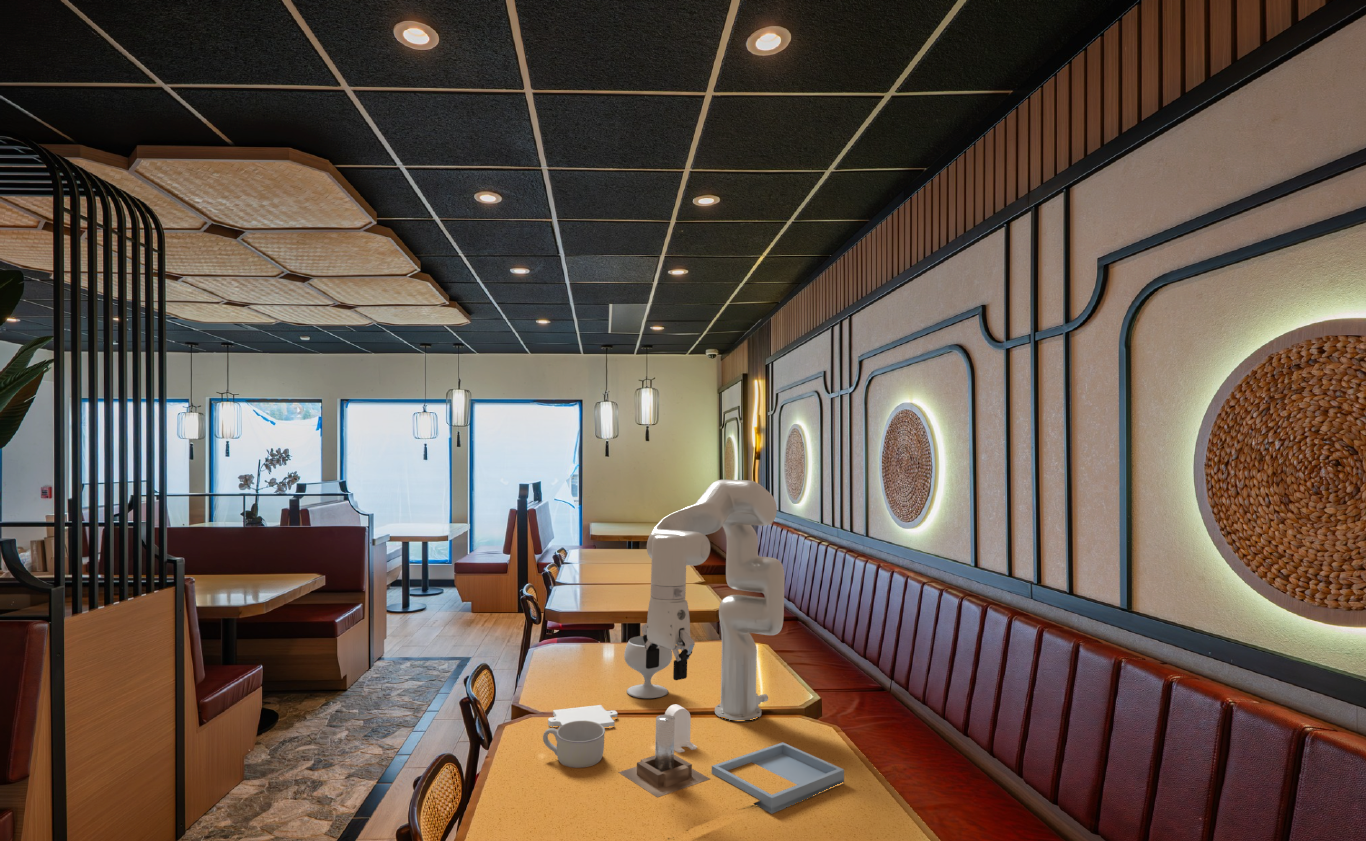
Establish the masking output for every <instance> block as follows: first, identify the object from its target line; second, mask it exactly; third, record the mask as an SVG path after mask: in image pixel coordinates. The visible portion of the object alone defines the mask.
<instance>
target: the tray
mask: <svg viewBox="0 0 1366 841" xmlns="http://www.w3.org/2000/svg"><path fill="white" fill-rule="evenodd" d="M750 763H753V764H754V765H757V766H759V767H761V768H762V769H764V770H766V771H768V772H770V773H773V774H775V775H777V776H778V777H780V778H783V779H785V780H787V781H789V782H791V783H793V784H795V785H794V786H791V787H788V788H785V789H783V790H780V791H778V792H775V793H772V794H771V793H770V792H767V791H765V790H764V789H762V788H760V787H758V786H756V785H754V784H752V783H751V782H748V781H746V780H744V779H742V778H741V777H740V776H737V775H736V774H733V773H732V772H730V771H731V770H732V769H733V770H734V769H735V768H739V767H742V766H745V765H748V764H750ZM711 774H712V775H714V776H715V777H718V778H719V779H721V780H723V781H725V782H727V783H728V784H730V785H731V786H733V787H736V788H738V789H740V790H741V791H743V792H745V793H746V794H748V795H751V797H754V798H756V799H758V801H756V802H754V803H752V804H753V805H755V806H757V807H759V808H761V809H762V810H764V811H766V813H767V812H768V813H769V814H771V815H773V814H775V813H777V812H780V811H782V810H784V809H787V808H789V807H791V806H790V805H792V806H794V805H796V804H795V803H797V802H799V803H801V802H803V801H802V800H804V799H806V800H808V799H807V798H809V797H811V798H813V797H814V796H813V795H815V794H818V793H819V792H822V791H824V790H826V789H829V788H830V787H833V786H835V785H837V784H840V783H842V782H844V783H845V769H844V768H841V767H840V766H837V765H835V764H833V763H830V762H829V761H826V760H824V759H821V758H819V757H817V756H814V755H812V754H810V753H808V752H806V751H804V750H801V749H799V748H797V747H795V746H792V745H789V744H787V743H785V742H783V741H782V742H780V743H776V744H774V745H771V746H768V747H764V748H761V749H759V750H756V751H752V752H749V753H746V754H743V755H741V756H737V757H735V758H732V759H728V760H726V761H722V762H719V763H716V764H714V765H711ZM818 795H819V794H818ZM812 796H813V797H812ZM809 799H810V798H809ZM804 801H805V800H804ZM797 804H798V803H797ZM786 807H787V808H786Z"/></svg>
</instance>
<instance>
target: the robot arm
mask: <svg viewBox="0 0 1366 841" xmlns="http://www.w3.org/2000/svg"><path fill="white" fill-rule="evenodd" d="M777 508H778V507H777V502H776V500H775V497H774V496H773V495H772V493H770V492H769V491H768V490H767V489H766V488H765V487H764V486H762V485H761V484H760V483H758V482H756V481H754V480H747V479H745V480H744V479H718V480H715V481H714V482H712V483H710V485H709V486H708V487H707V488H706V490H705V491H704V492H703V493H702V495H701V496H700V497H699V498H698V500H697V501H696V502H695V503H694V504H692V505H688V506H686V507H684V508H682V509H679V510H677V511H673V512H672V513H670V514H668V515H665V517H663V518H662V519H661V520H660V521H659V522H658V523H657V524H656V525H655V526H654V527H653V529H652V530H651V532H650V534H649V536H648V539H647V542H646V552H647V555H648V557H649V558H650V559H651V570H650V572H651V574H650V597H649V603H648V608H647V609H648V611H647V618H646V619H647V620H646V623H645V624H643V625H641V634H642V636H643V640H644V642H645V649H646V668H647V669H651V668H656V667H659V648H657V647H658V645H659V646H661V647H664V648H667V649H670V650H672V654H673V656H674V658H675V660H673V671H672V674H673V675H672V676H673V678H672V679H673V680H674V681H679V680H683V679H687V677H688V660H690V656H691V655H692V654H693V649H694V648H695V641H694V639H693V638H692V636H691V625H690V624H691V620H690V619H691V618H690V610H689V605H688V604H689V603H688V600H686V590H687V589H686V588H687V587H686V585H687V582H686V581H687V566H699V565H702V564H704V562H706V560H707V559H708V558H709V556H710V553H711V542H710V540H709V538H708V535H710V534H713V533H716V532H718V531H719V530H720V529H721V528H723V531H724V534H725V538H726V553H725V554H726V555H725V556H726V560H725V580H726V583H727V586H728V587H729V588H731V589H733V590H737V591H745V592H752V593H753V592H754V593H762V594H763V595H764V597H760V596H753V595H744V594H743V595H742V594H731V595H727V596H725V597H724V598H722V599H721V600H720V603H719V606H718V617H719V624H720V632H721V633H720V634H721V664H720V665H721V668H720V669H721V670H720V672H721V673H720V703H719V704H717V705H716V706H715V707H714V713H715V715H716V716H717V717H719V718H720V717H725V718H727V719H729V720H728V721H730V720H750V719H753V718H756V717H759V718H761V717H762V709H761V707H760V706H759V705H760V704H762V703H765V702H768V701H769V696H768V694H766V693H764V694H760V695H758V693H757V657H758V656H757V655H758V651H757V650H758V649H757V646H756V645H757V644H756V643H755V640H754V638H753V636H752V634H757V635H763V636H764V635H765V636H775V635H778V634H779V633H780V632H781V631H782V628H783V624H784V617H785V616H784V615H785V611H784V610H785V609H784V608H785V583H786V582H785V580H786V579H785V571H784V570H785V569H784V566H783V564H782V562H781V561H780V560H779V559H777V558H775V557H769V556H760V555H759V552H758V551H759V550H758V549H759V548H758V546H759V543H758V541H759V538H758V535H757V532H756V530H755V529H754V527H753V526H761V527H765V526H770V525H772V523H773V522H774V521H775V520H776V517H777V512H778V511H777ZM706 535H707V536H706ZM679 650H681V651H679Z"/></svg>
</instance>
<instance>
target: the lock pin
mask: <svg viewBox="0 0 1366 841" xmlns="http://www.w3.org/2000/svg"><path fill="white" fill-rule="evenodd" d="M655 717H656V718H655V744H654V745H655V747H654V749H655V750H654V756H655V769H657V770H659V771H660V772H664V771H667V770H670V769H673V768H674V755H675V750H674V731H675V717H673V716H671V715H665V714H660V715H657V716H655Z"/></svg>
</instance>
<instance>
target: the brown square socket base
mask: <svg viewBox="0 0 1366 841" xmlns="http://www.w3.org/2000/svg"><path fill="white" fill-rule="evenodd" d="M618 774H620V775H621V776H623V777H625V778H626V779H628V780H629V781H631V782H632V783H634V784H636V786H639V787H640V788H642V789H643V790H645V791H646V792H647V793H650V794H651V795H652V796H654V797H656V798H660V797H663V796H666V795H669V794H671V793H675V792H677V791H680V790H683V789H685V788H689V787H691V786H695V785H698V784H701V783H703V782H706V781H709V780H711V778H710V777H708V776H706V775H705V774H702V773H701V772H699V771H697V770H696V769H693V764H692V763H690V762H688V761H686V760H684V759H683V758H681V757H680V756H677V755H676V754H674V768H673V769H670V770H667V771H664V772H660V771H659V770H657V769H655V755H652V756H649V757H645V758H642V759H640V761H638V762H636V766H634V767H630V768H627V769H625V770H621V771H618Z"/></svg>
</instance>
